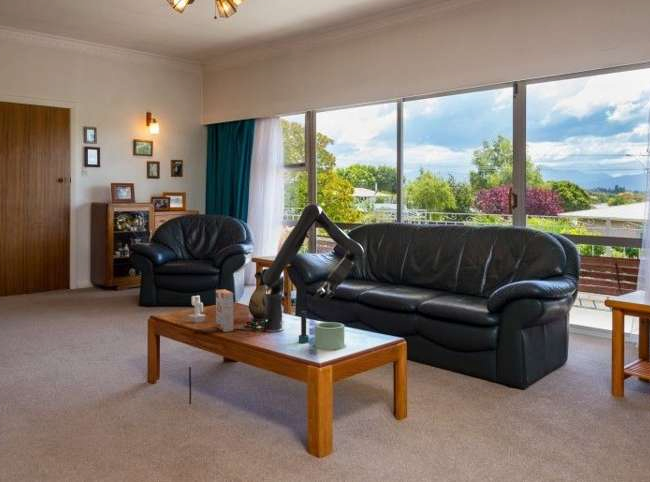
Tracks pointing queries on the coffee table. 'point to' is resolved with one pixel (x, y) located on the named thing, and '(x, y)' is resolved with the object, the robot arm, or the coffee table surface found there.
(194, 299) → the figurine
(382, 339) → the coffee table surface
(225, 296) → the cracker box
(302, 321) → the brush
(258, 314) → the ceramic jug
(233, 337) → the coffee table surface
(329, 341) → the jar
